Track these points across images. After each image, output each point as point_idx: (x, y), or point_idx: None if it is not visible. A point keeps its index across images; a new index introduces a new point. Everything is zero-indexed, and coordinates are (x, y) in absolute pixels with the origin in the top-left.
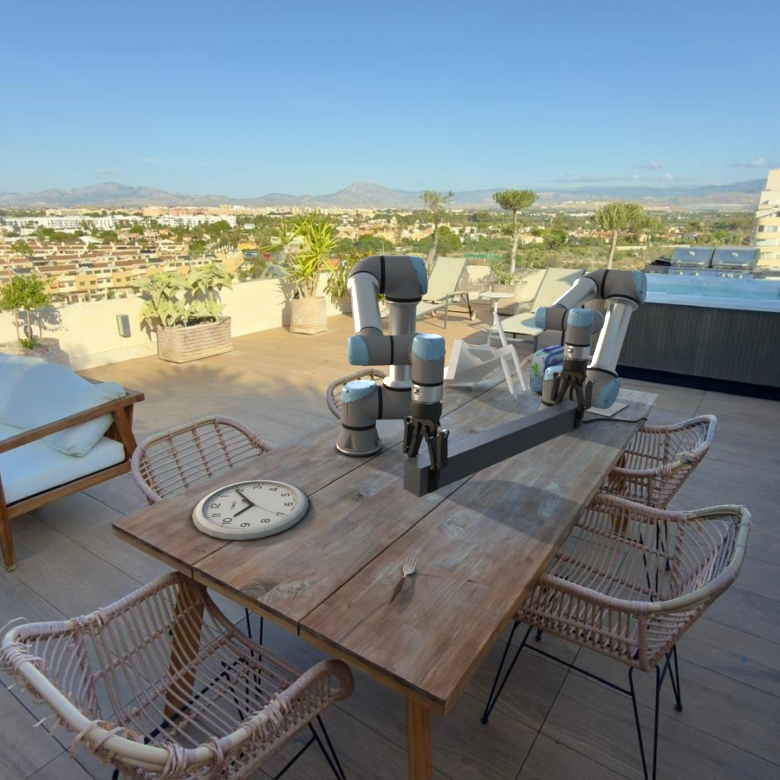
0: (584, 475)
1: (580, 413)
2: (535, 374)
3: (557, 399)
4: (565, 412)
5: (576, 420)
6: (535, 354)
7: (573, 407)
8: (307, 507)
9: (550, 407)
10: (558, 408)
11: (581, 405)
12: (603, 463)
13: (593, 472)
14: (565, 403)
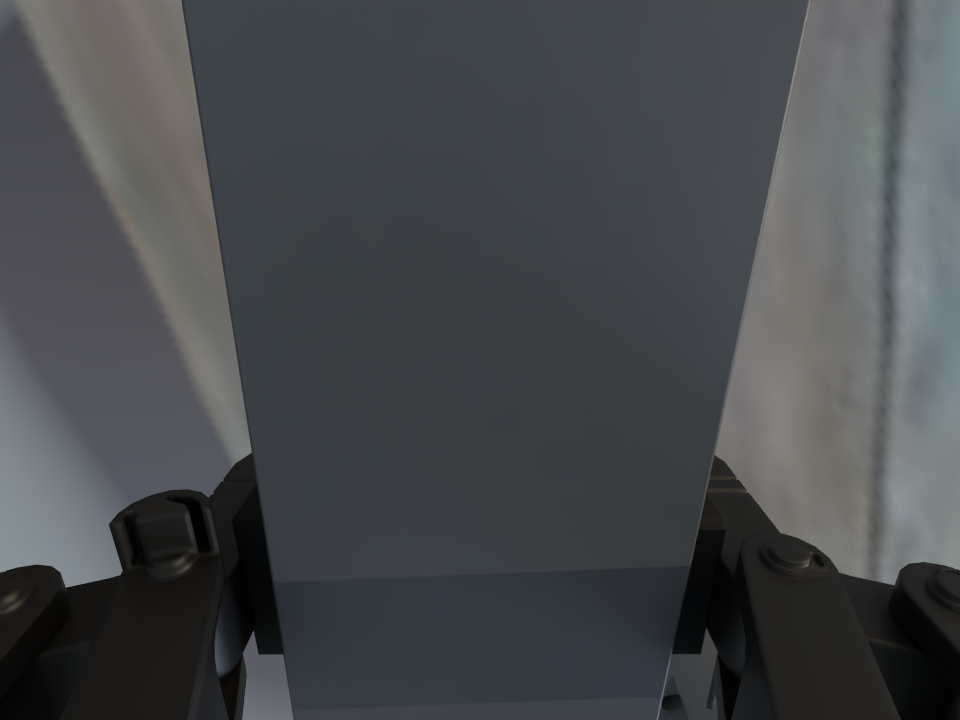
0: (155, 65)
1: (226, 513)
2: None
3: (816, 622)
4: (190, 15)
5: None
6: None
7: (311, 528)
8: None
9: (762, 10)
10: (520, 144)
11: (96, 640)
12: (222, 373)
13: (158, 178)
14: (588, 619)
